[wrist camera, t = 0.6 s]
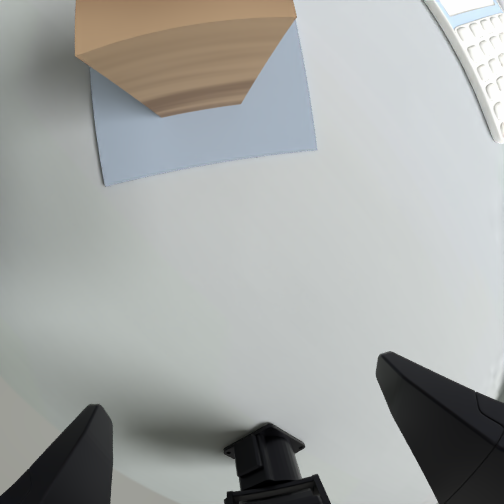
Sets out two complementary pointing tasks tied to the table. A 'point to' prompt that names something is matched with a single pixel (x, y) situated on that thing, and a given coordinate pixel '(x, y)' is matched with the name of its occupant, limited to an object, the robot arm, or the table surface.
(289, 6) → the walnut block
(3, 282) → the table surface
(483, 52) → the calculator
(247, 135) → the desk pad
